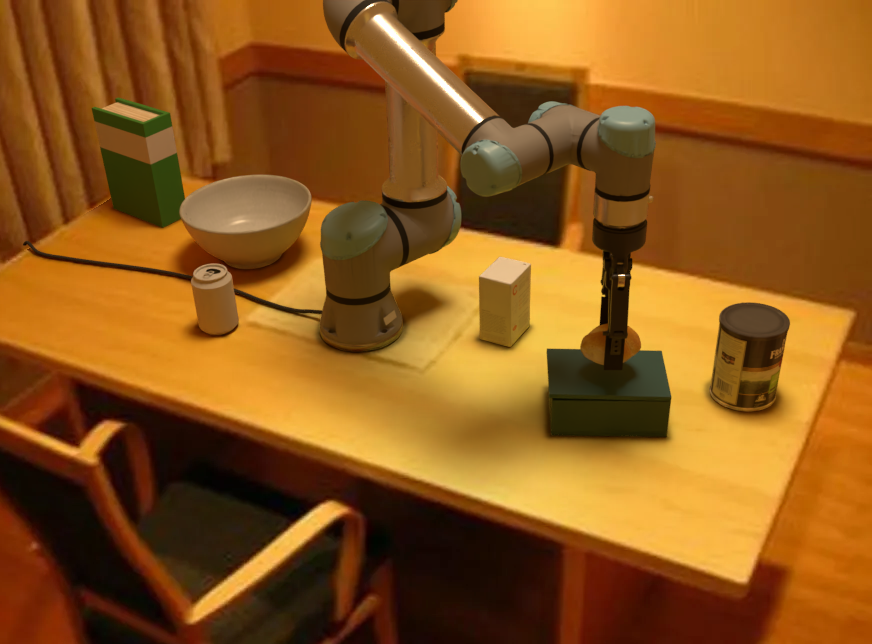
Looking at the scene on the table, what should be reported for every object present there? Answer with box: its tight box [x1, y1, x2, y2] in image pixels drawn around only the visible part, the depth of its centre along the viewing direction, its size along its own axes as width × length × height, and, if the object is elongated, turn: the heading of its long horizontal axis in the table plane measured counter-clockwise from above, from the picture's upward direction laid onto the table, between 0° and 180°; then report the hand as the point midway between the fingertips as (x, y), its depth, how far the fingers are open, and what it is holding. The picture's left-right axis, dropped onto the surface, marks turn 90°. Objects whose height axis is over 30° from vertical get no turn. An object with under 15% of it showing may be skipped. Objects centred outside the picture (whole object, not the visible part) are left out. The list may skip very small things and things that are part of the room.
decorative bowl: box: [179, 174, 313, 270], centre depth 221 cm, size 27×27×12 cm
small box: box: [478, 256, 532, 348], centre depth 190 cm, size 8×6×13 cm
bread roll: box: [579, 323, 642, 365], centre depth 165 cm, size 8×9×4 cm
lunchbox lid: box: [546, 348, 672, 402], centre depth 168 cm, size 18×13×1 cm
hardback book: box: [91, 96, 186, 229], centre depth 238 cm, size 18×7×24 cm, turn 49°
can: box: [190, 262, 240, 336], centre depth 199 cm, size 8×8×12 cm
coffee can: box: [709, 302, 791, 412], centre depth 170 cm, size 10×10×14 cm
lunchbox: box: [547, 387, 672, 438], centre depth 170 cm, size 18×13×7 cm
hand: (610, 350), depth 165 cm, fingers closed on bread roll, 9 cm apart
